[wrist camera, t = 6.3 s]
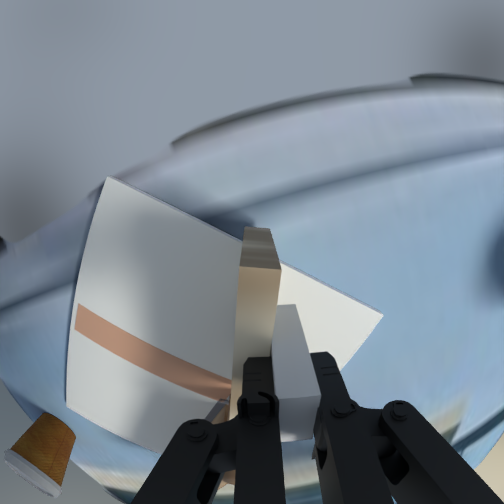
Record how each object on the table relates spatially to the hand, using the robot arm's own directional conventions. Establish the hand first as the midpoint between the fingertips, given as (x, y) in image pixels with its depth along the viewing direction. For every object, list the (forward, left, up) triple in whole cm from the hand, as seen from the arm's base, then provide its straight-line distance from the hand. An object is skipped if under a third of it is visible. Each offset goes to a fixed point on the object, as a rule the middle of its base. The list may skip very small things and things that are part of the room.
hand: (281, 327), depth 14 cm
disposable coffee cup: (-36, +16, -5) cm, 39 cm away
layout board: (-12, +3, -5) cm, 13 cm away
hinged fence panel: (-3, +1, -4) cm, 4 cm away
